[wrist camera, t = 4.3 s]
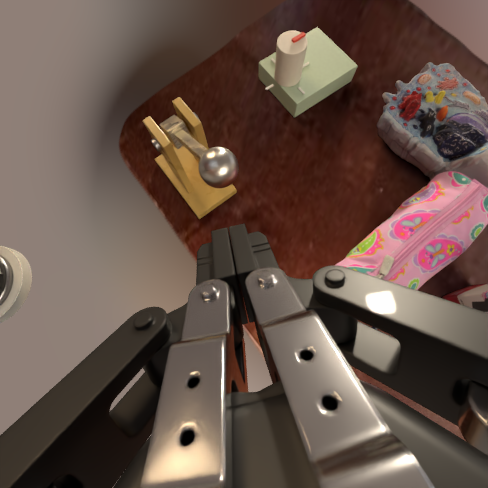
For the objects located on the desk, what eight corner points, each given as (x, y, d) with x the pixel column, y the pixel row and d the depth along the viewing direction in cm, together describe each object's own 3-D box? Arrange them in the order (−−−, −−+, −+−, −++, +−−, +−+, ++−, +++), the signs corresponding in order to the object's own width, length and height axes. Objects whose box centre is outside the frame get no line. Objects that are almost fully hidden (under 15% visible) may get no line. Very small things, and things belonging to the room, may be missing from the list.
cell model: (533, 186, 28) (383, 77, 33) (459, 221, 39) (353, 135, 43) (604, 112, 30) (452, 19, 34) (515, 165, 40) (407, 88, 45)
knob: (285, 91, 42) (289, 57, 36) (268, 74, 43) (271, 37, 37) (306, 78, 42) (314, 42, 36) (290, 61, 43) (295, 23, 37)
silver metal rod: (251, 180, 25) (238, 146, 22) (219, 202, 24) (201, 171, 22) (191, 133, 34) (176, 106, 31) (167, 149, 33) (150, 122, 31)
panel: (283, 124, 44) (285, 110, 41) (247, 84, 46) (247, 68, 43) (351, 81, 45) (358, 64, 42) (313, 44, 48) (317, 25, 44)
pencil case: (358, 331, 36) (392, 337, 27) (311, 277, 38) (328, 267, 29) (468, 233, 38) (531, 209, 29) (418, 187, 40) (464, 153, 31)
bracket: (236, 192, 41) (229, 141, 29) (199, 219, 40) (174, 178, 28) (192, 139, 44) (168, 70, 31) (157, 163, 43) (117, 102, 31)
